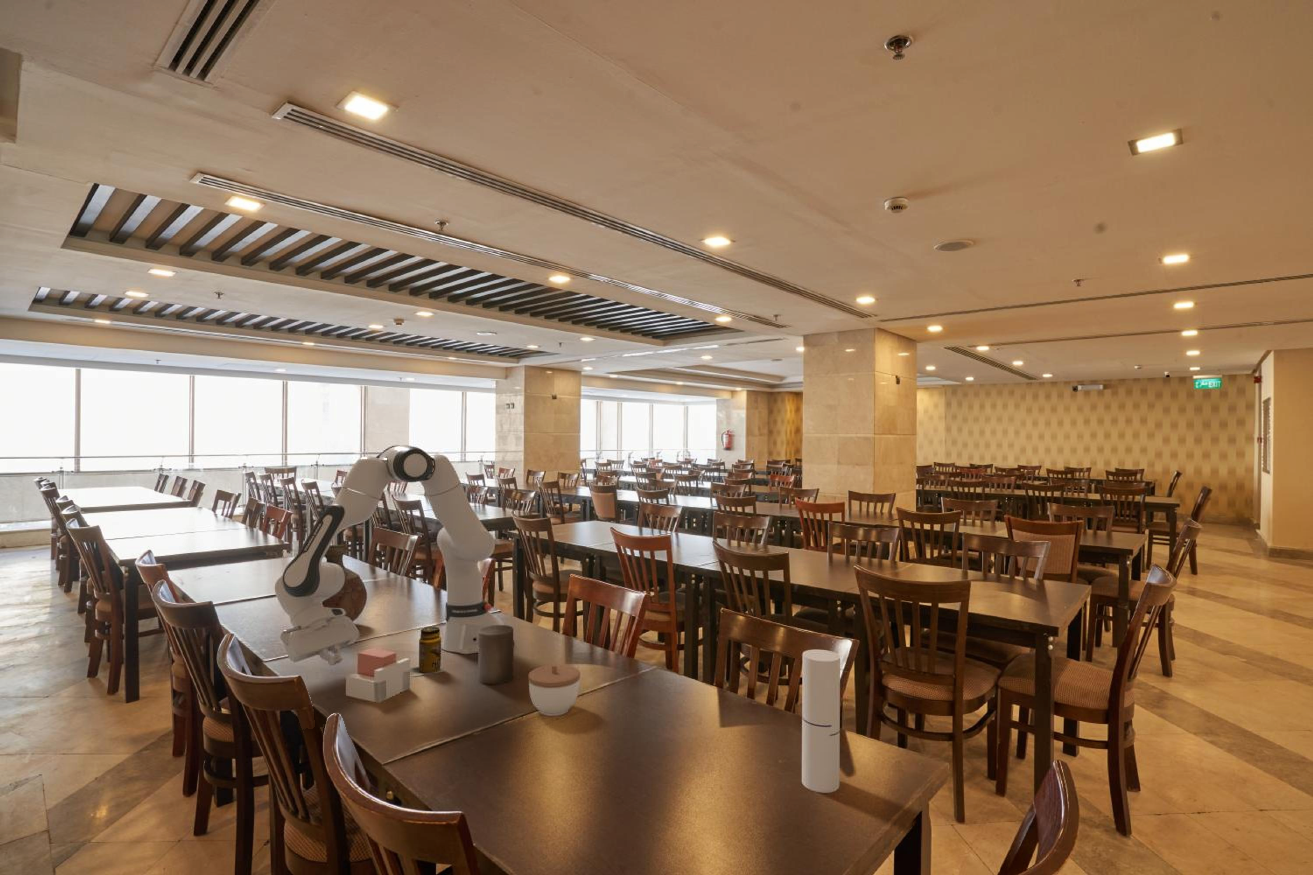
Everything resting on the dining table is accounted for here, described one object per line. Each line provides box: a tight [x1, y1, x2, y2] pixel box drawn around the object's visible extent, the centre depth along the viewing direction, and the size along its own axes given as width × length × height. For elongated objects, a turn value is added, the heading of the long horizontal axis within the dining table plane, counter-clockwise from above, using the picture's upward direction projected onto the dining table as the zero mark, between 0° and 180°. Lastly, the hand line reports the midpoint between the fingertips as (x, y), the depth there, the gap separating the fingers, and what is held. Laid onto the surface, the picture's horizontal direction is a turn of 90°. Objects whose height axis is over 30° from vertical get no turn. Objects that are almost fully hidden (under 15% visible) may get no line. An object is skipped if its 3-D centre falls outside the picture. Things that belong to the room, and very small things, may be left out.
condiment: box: [410, 626, 445, 677], centre depth 191 cm, size 7×8×12 cm
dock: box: [345, 657, 411, 704], centre depth 174 cm, size 12×10×8 cm
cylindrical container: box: [801, 649, 841, 794], centre depth 129 cm, size 7×7×25 cm
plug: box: [357, 647, 397, 677], centre depth 174 cm, size 9×4×10 cm, turn 65°
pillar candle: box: [477, 624, 514, 685], centre depth 185 cm, size 10×10×15 cm
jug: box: [322, 544, 368, 623], centre depth 232 cm, size 22×22×30 cm
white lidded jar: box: [527, 664, 581, 717], centre depth 163 cm, size 13×13×11 cm
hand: (336, 662), depth 180 cm, fingers closed
